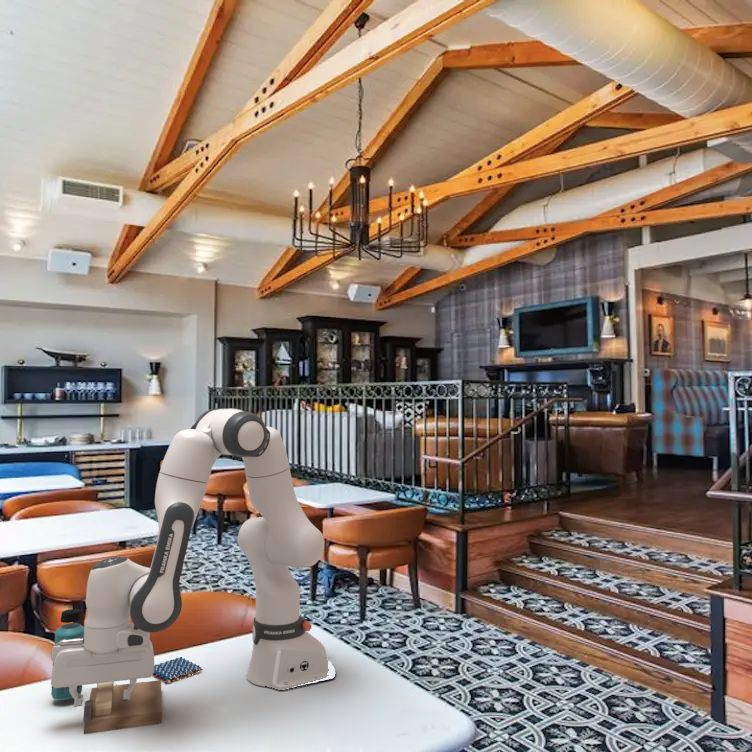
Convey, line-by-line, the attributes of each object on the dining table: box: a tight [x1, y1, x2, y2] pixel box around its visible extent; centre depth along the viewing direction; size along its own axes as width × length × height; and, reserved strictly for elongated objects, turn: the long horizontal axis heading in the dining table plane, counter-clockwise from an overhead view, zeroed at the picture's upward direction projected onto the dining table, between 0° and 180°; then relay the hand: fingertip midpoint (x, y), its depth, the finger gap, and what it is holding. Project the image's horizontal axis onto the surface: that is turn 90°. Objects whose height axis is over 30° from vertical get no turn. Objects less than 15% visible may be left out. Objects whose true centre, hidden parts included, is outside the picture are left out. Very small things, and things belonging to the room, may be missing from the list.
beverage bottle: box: [50, 608, 84, 701], centre depth 140 cm, size 6×7×20 cm
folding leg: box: [95, 681, 115, 716], centre depth 134 cm, size 14×3×3 cm, turn 22°
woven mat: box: [151, 656, 203, 685], centre depth 156 cm, size 10×11×2 cm
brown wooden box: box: [83, 679, 163, 735], centre depth 135 cm, size 15×16×6 cm
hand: (102, 702), depth 130 cm, fingers open, 8 cm apart
